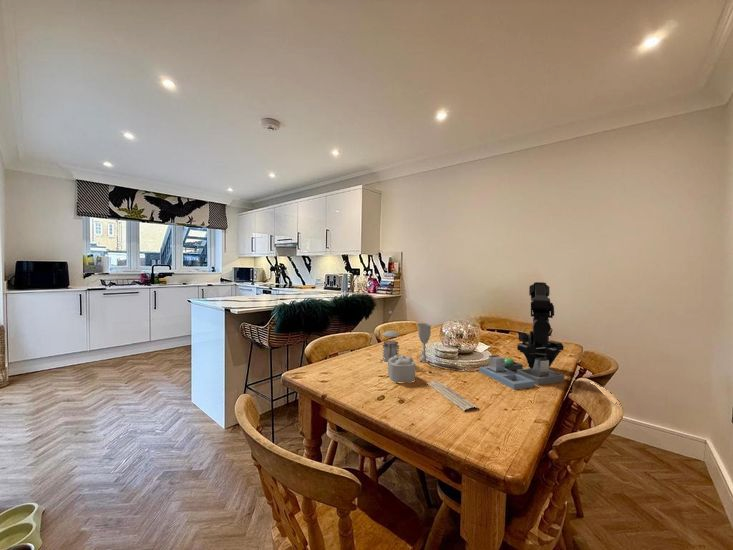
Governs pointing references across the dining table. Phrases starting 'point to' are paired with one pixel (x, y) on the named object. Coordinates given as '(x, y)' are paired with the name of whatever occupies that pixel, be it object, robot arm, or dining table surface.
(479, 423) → the dining table surface
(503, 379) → the pallet
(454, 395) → the grooved grey strip
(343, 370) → the dining table surface
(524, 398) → the dining table surface
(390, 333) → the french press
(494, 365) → the block
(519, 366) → the button housing
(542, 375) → the block
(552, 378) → the tray
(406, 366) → the fruit punnet
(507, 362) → the button
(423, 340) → the chalice
